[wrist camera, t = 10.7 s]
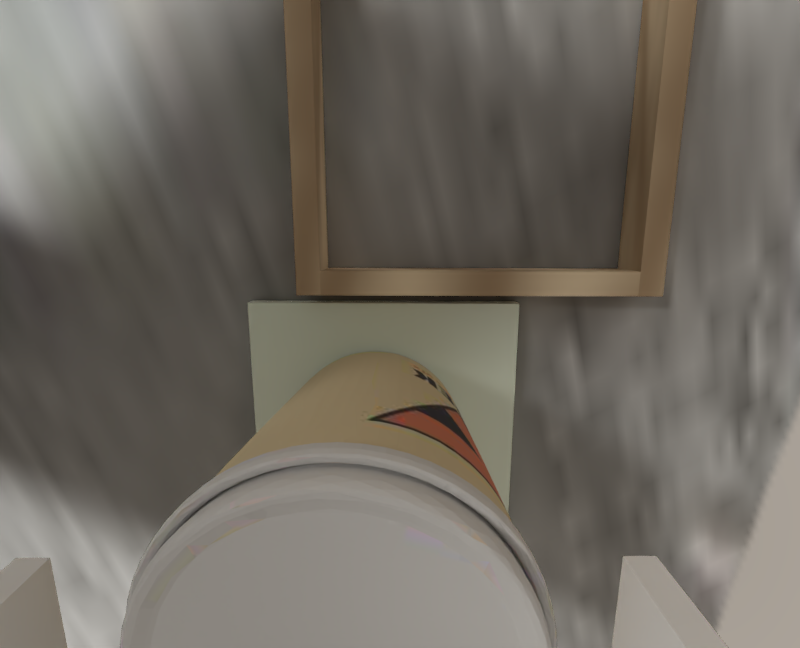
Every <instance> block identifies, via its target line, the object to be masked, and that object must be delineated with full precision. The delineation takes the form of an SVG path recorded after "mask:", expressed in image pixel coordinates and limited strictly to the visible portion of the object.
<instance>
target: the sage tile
mask: <svg viewBox="0 0 800 648" xmlns="http://www.w3.org/2000/svg"><path fill="white" fill-rule="evenodd" d="M247 305H248V320H249V335H250V350H251V366H252V381H253V396H254V411H255V426H256V433H257V432H258V431H259V430H260V429H261V428H262V427H263V426H264V425H265V424H266V423H267V422H268V421H269V420H270V419H271V418H272V417H273V416H274V415H275V414H276V413H277V412H278V411H279V410H280V409H281V408H282V407H283V406H284V405H285V404H286V403H287V402H288V401H289V400H290V399H291V398H292V397H293V396H294V395H295V394H296V393H297V392H298V391H299V390H300V389H301V388H302V387H303V386H304V385H305V384H306V383H307V382H308V381H309V380H310V379H311V378H312V377H313V376H314V375H315V374H316V373H318V372H319V371H320V370H321V369H323V368H324V367H325V366H327V365H328V364H330V363H332V362H333V361H336V360H338V359H340V358H342V357H345V356H348V355H350V354H354V353H359V352H367V351H384V352H391V353H396V354H399V355H402V356H406V357H408V358H410V359H413V360H415V361H417V362H418V363H420V364H421V365H423V366H425V367H426V368H427V369H429V370H430V371H431V372H432V373H433V374H434V375H435V376H436V377H437V378H438V379H439V380H440V381H441V382H442V384H443V385H444V386H445V388H446V389H447V390H448V392H449V394H450V396H451V397H452V399H453V401H454V403H455V405H456V406H457V408H458V410H459V412H460V414H461V416H462V418H463V420H464V422H465V424H466V427H467V429H468V431H469V433H470V435H471V437H472V439H473V441H474V443H475V445H476V447H477V449H478V451H479V453H480V455H481V457H482V459H483V461H484V463H485V465H486V468H487V470H488V472H489V474H490V476H491V478H492V480H493V483H494V485H495V487H496V489H497V491H498V493H499V495H500V497H501V500H502V502H503V504H504V506H505V508H506V510H507V512H508V509H509V490H510V472H511V453H512V434H513V416H514V397H515V378H516V360H517V341H518V322H519V303H517V302H516V301H277V300H253V301H251V302H248V303H247Z"/></svg>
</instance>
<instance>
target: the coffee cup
mask: <svg viewBox="0 0 800 648" xmlns="http://www.w3.org/2000/svg"><path fill="white" fill-rule="evenodd" d="M120 648H557V635H556V623H555V618H554V612H553V607H552V602H551V598H550V595H549V592H548V589H547V586H546V582H545V579H544V577H543V575H542V573H541V570H540V568H539V566H538V564H537V562H536V560H535V558H534V556H533V554H532V552H531V550H530V549H529V547H528V545H527V544H526V542H525V541H524V539H523V537H522V536H521V534H520V533H519V531H518V530H517V528H516V527H515V526H514V525H513V523H512V521H511V519H510V517H509V514H508V512H507V510H506V508H505V506H504V504H503V502H502V500H501V497H500V495H499V493H498V491H497V489H496V487H495V485H494V483H493V480H492V478H491V476H490V474H489V472H488V470H487V468H486V465H485V463H484V461H483V459H482V457H481V455H480V453H479V451H478V449H477V447H476V445H475V443H474V441H473V439H472V437H471V435H470V433H469V431H468V429H467V427H466V424H465V422H464V420H463V418H462V416H461V414H460V412H459V410H458V408H457V406H456V405H455V403H454V401H453V399H452V397H451V396H450V394H449V392H448V390H447V389H446V388H445V386H444V385H443V384H442V382H441V381H440V380H439V379H438V378H437V377H436V376H435V375H434V374H433V373H432V372H431V371H430V370H429V369H427V368H426V367H425V366H423V365H421V364H420V363H418V362H417V361H415V360H413V359H410V358H408V357H406V356H402V355H399V354H396V353H391V352H384V351H367V352H359V353H354V354H350V355H348V356H345V357H342V358H340V359H338V360H336V361H333V362H332V363H330V364H328V365H327V366H325V367H324V368H323V369H321V370H320V371H319V372H318V373H316V374H315V375H314V376H313V377H312V378H311V379H310V380H309V381H308V382H307V383H306V384H305V385H304V386H303V387H302V388H301V389H300V390H299V391H298V392H297V393H296V394H295V395H294V396H293V397H292V398H291V399H290V400H289V401H288V402H287V403H286V404H285V405H284V406H283V407H282V408H281V409H280V410H279V411H278V412H277V413H276V414H275V415H274V416H273V417H272V418H271V419H270V420H269V421H268V422H267V423H266V424H265V425H264V426H263V427H262V428H261V429H260V430H259V431H258V432H257V433H256V434H255V435H254V436H253V437H252V438H251V439H250V440H249V441H248V442H247V443H246V445H245V446H244V447H243V448H242V449H241V450H240V451H239V452H238V453H237V454H236V455H235V456H234V457H233V458H232V459H231V460H230V461H229V462H228V463H227V464H226V465H225V466H224V468H223V469H222V470H221V471H220V472H219V473H218V474H217V475H216V476H215V477H214V478H213V479H211V480H210V481H208V482H207V483H205V484H204V485H203V486H202V487H200V488H199V489H198V490H197V491H196V492H194V493H193V494H192V495H191V496H190V497H188V498H187V499H186V500H185V501H184V502H183V503H182V504H181V505H180V506H179V507H178V508H177V509H176V510H175V511H174V512H173V513H172V514H171V515H170V517H169V518H168V519H167V520H166V521H165V522H164V524H163V525H162V526H161V528H160V529H159V531H158V532H157V533H156V535H155V536H154V537H153V539H152V541H151V542H150V544H149V546H148V547H147V549H146V551H145V553H144V555H143V557H142V558H141V560H140V562H139V565H138V567H137V570H136V572H135V575H134V577H133V580H132V583H131V587H130V591H129V595H128V599H127V607H126V614H125V618H124V622H123V625H122V630H121V640H120Z"/></svg>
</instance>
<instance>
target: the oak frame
mask: <svg viewBox="0 0 800 648" xmlns="http://www.w3.org/2000/svg"><path fill="white" fill-rule="evenodd" d="M283 4H284V27H285V49H286V72H287V94H288V117H289V139H290V162H291V184H292V207H293V229H294V252H295V274H296V295H335V296H663V291H664V283H665V274H666V265H667V257H668V248H669V240H670V231H671V222H672V214H673V205H674V197H675V188H676V179H677V171H678V162H679V154H680V145H681V136H682V128H683V119H684V110H685V102H686V93H687V85H688V76H689V67H690V59H691V50H692V42H693V33H694V24H695V16H696V7H697V0H643V7H642V17H641V28H640V38H639V49H638V59H637V70H636V80H635V91H634V101H633V112H632V122H631V133H630V143H629V154H628V164H627V175H626V185H625V196H624V206H623V217H622V228H621V238H620V249H619V259H618V268H328V240H327V207H326V174H325V140H324V107H323V74H322V41H321V7H320V0H283Z"/></svg>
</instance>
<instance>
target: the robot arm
mask: <svg viewBox="0 0 800 648" xmlns="http://www.w3.org/2000/svg"><path fill="white" fill-rule="evenodd" d="M0 648H67V643H66V638H65V633H64V628H63V623H62V617H61V612H60V607H59V602H58V597H57V592H56V587H55V582H54V576H53V571H52V566H51V561H50V558H16V559H14V560H13V561H12V562H11V563H10V564H9V565H7V566H6V567H5V568H4V569H3V570H2V571H1V572H0ZM612 648H728V646H727V645H726V644H725V643H724V641H723V640H722V639H721V638H720V636H719V635H718V634H717V632H716V631H715V630H714V629H713V627H712V626H711V625H710V623H709V622H708V621H707V620H706V618H705V617H704V616H703V615H702V613H701V612H700V611H699V610H698V608H697V607H696V606H695V604H694V603H693V602H692V601H691V599H690V598H689V597H688V596H687V594H686V593H685V592H684V590H683V589H682V588H681V587H680V585H679V584H678V583H677V582H676V580H675V579H674V578H673V577H672V575H671V574H670V573H669V571H668V570H667V569H666V568H665V566H664V565H663V564H662V563H661V561H660V560H659V559H658V557H657V556H623V560H622V568H621V576H620V584H619V592H618V600H617V608H616V616H615V624H614V632H613V640H612Z"/></svg>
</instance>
